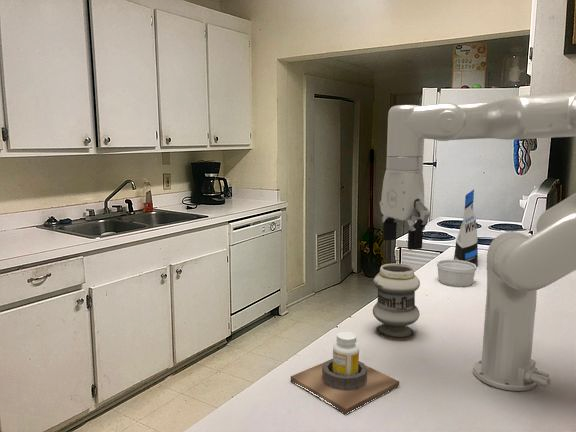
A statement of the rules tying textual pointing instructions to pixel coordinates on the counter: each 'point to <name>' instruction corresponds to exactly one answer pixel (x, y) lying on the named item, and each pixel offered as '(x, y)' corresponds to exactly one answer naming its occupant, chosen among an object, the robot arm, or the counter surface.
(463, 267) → the ramekin
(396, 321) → the apothecary jar
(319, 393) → the stand board
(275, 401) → the counter surface
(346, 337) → the supplement bottle
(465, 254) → the protein powder
